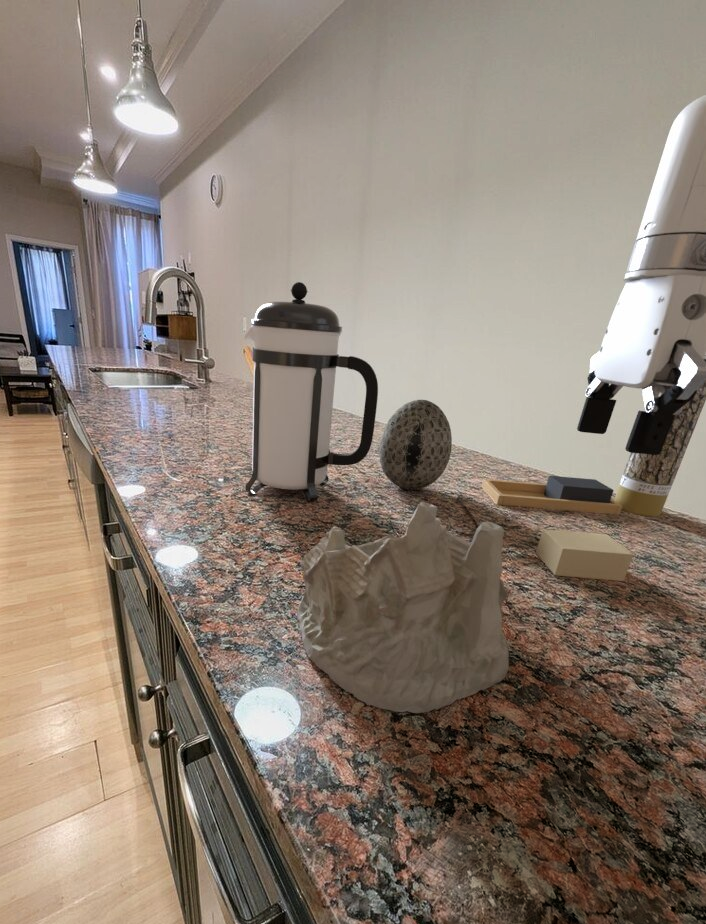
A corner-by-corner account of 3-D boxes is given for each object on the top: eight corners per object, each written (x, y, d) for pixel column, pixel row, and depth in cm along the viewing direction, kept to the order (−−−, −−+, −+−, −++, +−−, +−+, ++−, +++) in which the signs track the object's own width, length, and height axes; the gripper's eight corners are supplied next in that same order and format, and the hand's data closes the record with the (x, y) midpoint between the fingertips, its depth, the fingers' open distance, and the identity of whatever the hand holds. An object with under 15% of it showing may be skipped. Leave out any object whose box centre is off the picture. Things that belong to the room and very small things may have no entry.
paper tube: (666, 515, 74) (729, 357, 65) (649, 522, 70) (713, 355, 61) (622, 502, 79) (675, 353, 70) (604, 507, 75) (657, 351, 66)
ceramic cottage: (539, 681, 35) (580, 497, 30) (345, 740, 29) (354, 526, 24) (427, 587, 48) (441, 450, 43) (280, 615, 43) (277, 462, 38)
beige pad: (598, 558, 57) (607, 534, 55) (623, 581, 52) (634, 554, 50) (535, 553, 57) (542, 528, 55) (554, 575, 52) (563, 548, 50)
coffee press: (267, 512, 62) (276, 270, 51) (229, 477, 75) (229, 277, 64) (368, 498, 71) (394, 288, 59) (318, 469, 83) (332, 291, 72)
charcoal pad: (589, 498, 78) (595, 479, 76) (606, 510, 73) (613, 490, 71) (543, 494, 78) (548, 475, 76) (557, 506, 73) (563, 485, 71)
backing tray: (590, 499, 79) (594, 488, 78) (618, 518, 71) (623, 505, 71) (480, 489, 79) (483, 478, 79) (496, 507, 71) (499, 495, 71)
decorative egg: (380, 473, 84) (391, 392, 78) (443, 483, 81) (459, 399, 76) (369, 492, 73) (381, 400, 68) (442, 504, 71) (460, 409, 65)
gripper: (801, 253, 34) (708, 467, 41) (654, 278, 50) (604, 429, 57) (703, 244, 34) (626, 459, 41) (588, 272, 50) (545, 423, 57)
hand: (613, 441), depth 49 cm, fingers open, 9 cm apart
